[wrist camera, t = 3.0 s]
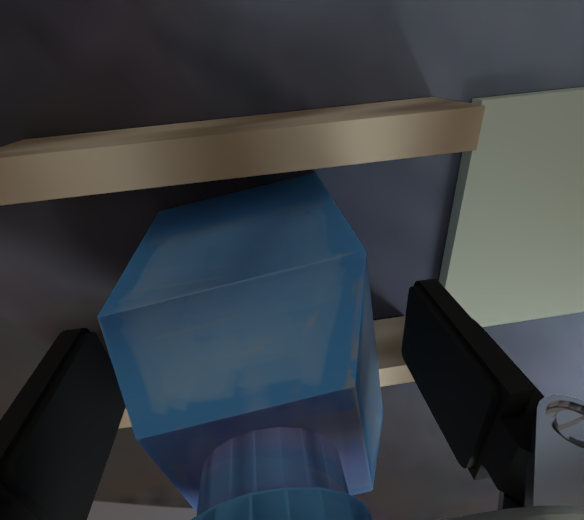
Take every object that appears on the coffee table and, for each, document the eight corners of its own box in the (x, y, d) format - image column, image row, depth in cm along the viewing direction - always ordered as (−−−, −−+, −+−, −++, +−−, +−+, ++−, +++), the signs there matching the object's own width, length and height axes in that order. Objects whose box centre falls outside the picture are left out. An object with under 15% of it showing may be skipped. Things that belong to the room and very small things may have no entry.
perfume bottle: (158, 211, 13) (-204, 831, 2) (315, 172, 13) (615, 635, 2) (212, 327, 16) (154, 802, 6) (337, 296, 16) (504, 718, 6)
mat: (699, 74, 12) (719, 75, 12) (587, 302, 18) (597, 309, 18) (472, 98, 12) (482, 100, 11) (430, 326, 18) (436, 334, 17)
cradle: (432, 96, 12) (499, 108, 9) (402, 333, 18) (435, 390, 15) (22, 139, 11) (-66, 169, 8) (135, 372, 17) (111, 442, 14)
